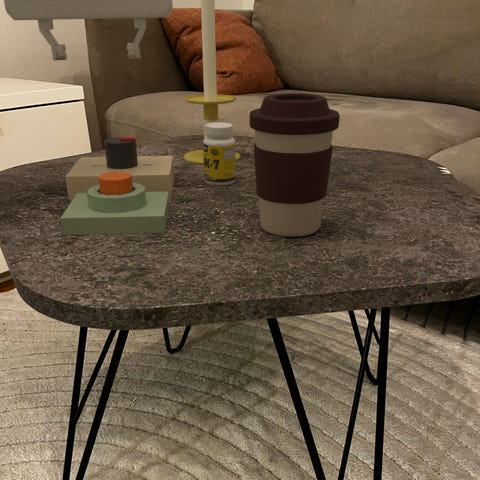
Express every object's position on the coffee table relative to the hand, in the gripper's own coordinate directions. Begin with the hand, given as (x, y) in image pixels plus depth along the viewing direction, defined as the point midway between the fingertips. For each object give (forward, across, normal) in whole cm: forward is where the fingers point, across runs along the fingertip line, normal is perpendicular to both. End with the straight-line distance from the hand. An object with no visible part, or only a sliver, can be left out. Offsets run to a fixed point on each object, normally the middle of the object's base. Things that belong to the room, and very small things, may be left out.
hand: (97, 59), depth 76 cm
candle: (+18, -15, -21) cm, 31 cm away
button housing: (+18, -2, +12) cm, 21 cm away
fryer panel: (+18, -1, -2) cm, 18 cm away
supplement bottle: (+18, -15, -5) cm, 24 cm away
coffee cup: (+18, -23, +16) cm, 34 cm away
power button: (+14, -2, +12) cm, 19 cm away
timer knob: (+14, -1, -2) cm, 14 cm away
